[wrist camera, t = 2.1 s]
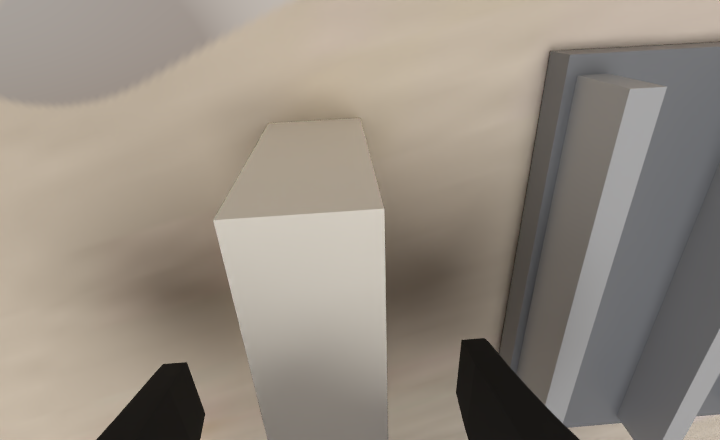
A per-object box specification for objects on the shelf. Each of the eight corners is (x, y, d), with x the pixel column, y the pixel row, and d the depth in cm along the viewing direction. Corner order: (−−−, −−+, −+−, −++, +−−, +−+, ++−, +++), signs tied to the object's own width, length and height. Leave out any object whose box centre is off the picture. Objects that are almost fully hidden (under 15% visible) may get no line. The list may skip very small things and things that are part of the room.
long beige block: (372, 396, 17) (390, 570, 12) (311, 401, 17) (302, 579, 12) (360, 116, 11) (384, 208, 6) (269, 121, 11) (213, 220, 6)
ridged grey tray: (725, 392, 18) (792, 457, 15) (489, 412, 18) (516, 483, 15) (935, 30, 11) (1126, 36, 8) (550, 50, 11) (622, 64, 8)
